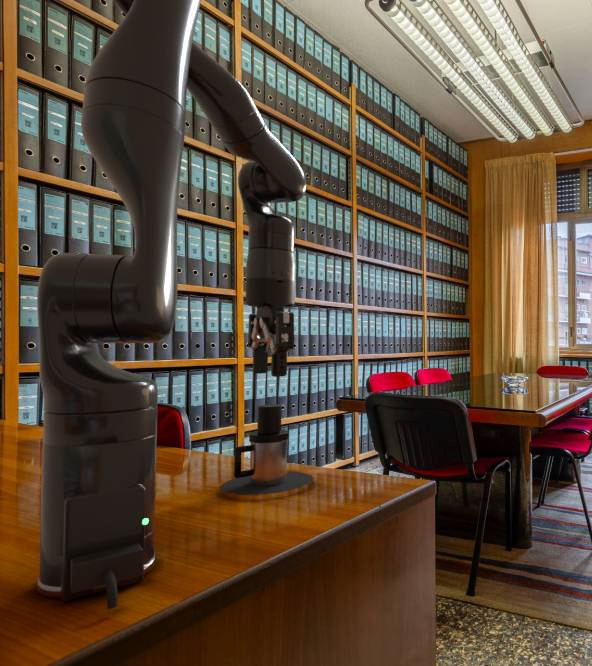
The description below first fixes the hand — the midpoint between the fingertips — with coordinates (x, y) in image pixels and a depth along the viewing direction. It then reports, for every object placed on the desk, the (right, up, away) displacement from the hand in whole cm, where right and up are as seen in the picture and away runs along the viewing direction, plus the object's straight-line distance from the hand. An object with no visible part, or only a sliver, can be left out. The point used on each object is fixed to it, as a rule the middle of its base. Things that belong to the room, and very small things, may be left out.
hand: (269, 374), depth 83 cm
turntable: (0, -19, 0) cm, 19 cm away
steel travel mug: (-1, -18, -1) cm, 18 cm away
